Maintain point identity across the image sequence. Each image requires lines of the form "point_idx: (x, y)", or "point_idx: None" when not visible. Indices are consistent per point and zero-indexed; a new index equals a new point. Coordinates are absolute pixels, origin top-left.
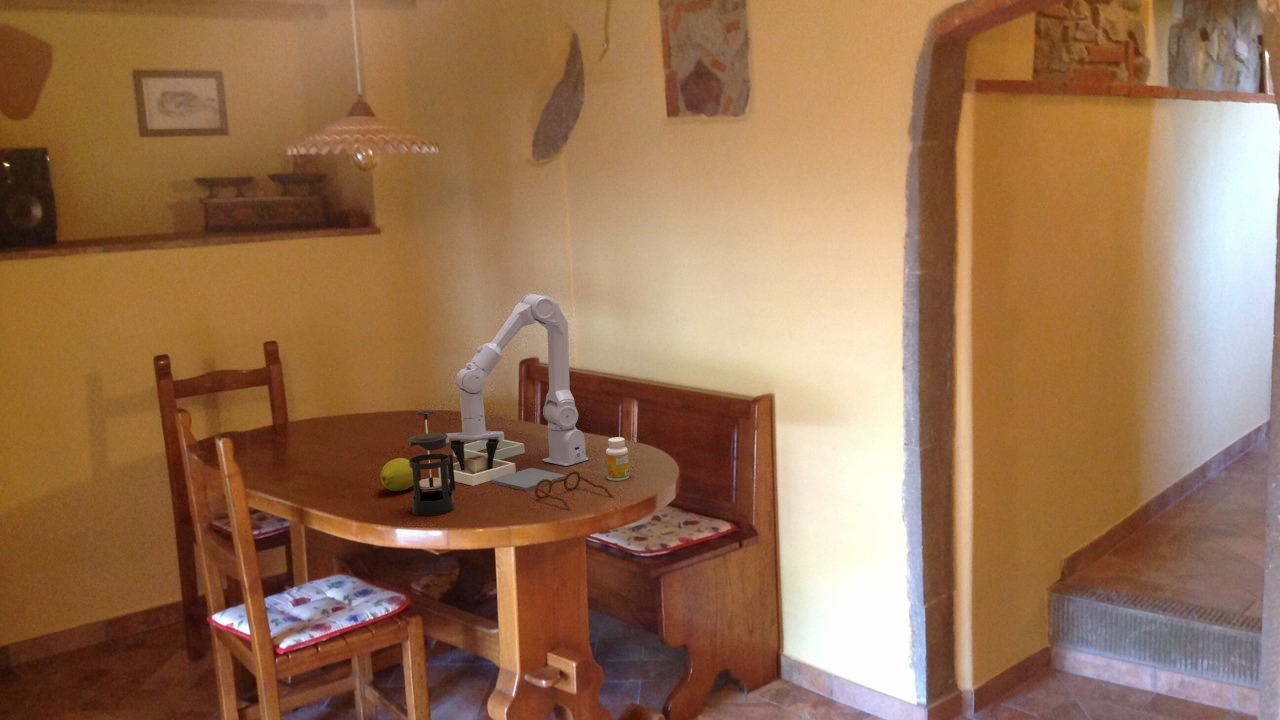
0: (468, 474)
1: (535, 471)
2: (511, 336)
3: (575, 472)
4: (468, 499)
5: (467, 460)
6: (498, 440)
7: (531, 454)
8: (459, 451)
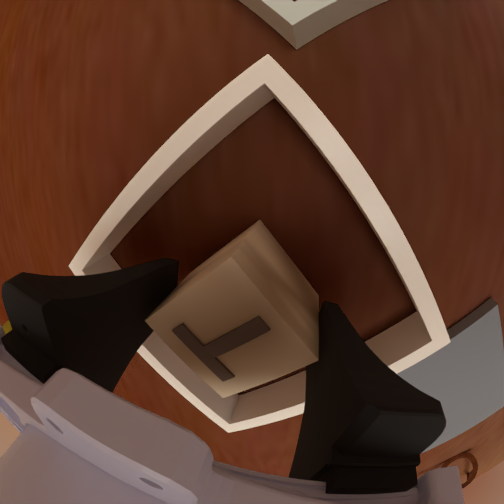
0: (212, 417)
1: (481, 361)
2: None
3: (466, 484)
4: (234, 464)
5: (176, 347)
6: (417, 459)
7: (500, 13)
8: (109, 386)
